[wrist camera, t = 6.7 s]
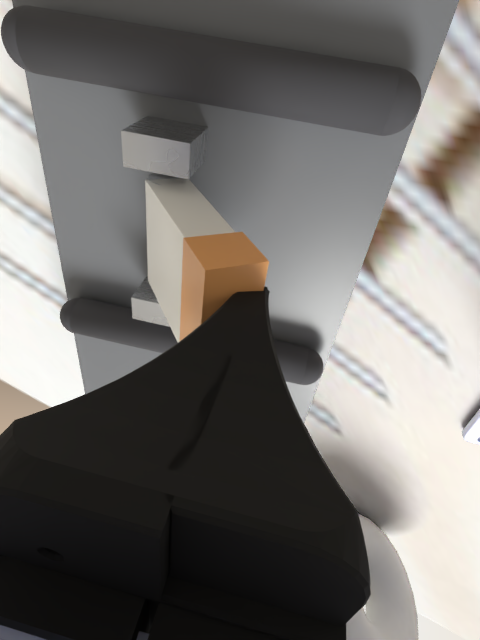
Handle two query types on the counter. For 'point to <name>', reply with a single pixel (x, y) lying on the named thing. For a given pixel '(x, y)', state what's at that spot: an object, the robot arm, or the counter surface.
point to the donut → (384, 593)
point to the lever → (194, 254)
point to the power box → (221, 149)
